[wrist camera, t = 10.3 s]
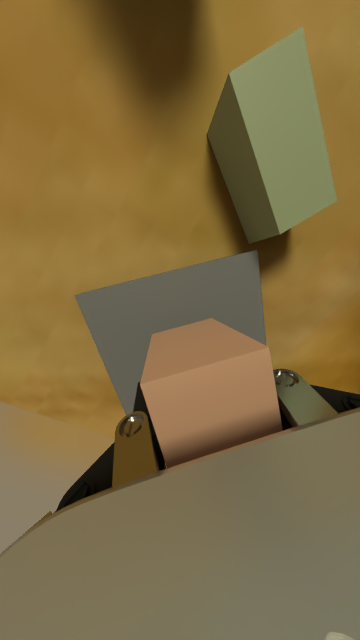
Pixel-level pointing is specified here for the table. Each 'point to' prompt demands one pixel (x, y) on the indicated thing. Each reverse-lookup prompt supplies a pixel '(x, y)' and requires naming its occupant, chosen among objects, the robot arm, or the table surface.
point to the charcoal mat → (170, 312)
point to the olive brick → (272, 141)
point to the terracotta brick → (208, 390)
